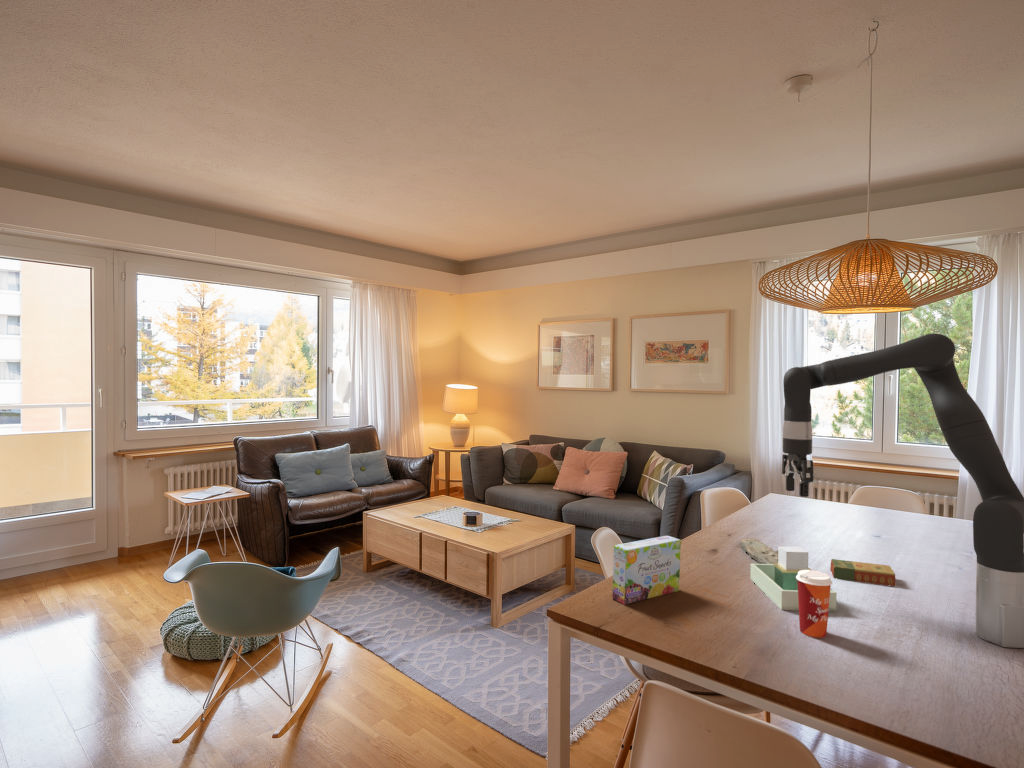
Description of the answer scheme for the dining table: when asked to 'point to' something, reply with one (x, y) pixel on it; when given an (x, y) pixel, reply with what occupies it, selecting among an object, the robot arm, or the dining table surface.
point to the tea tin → (786, 578)
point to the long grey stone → (759, 551)
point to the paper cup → (813, 602)
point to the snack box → (646, 569)
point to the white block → (793, 558)
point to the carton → (862, 572)
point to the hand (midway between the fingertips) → (796, 493)
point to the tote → (782, 598)
